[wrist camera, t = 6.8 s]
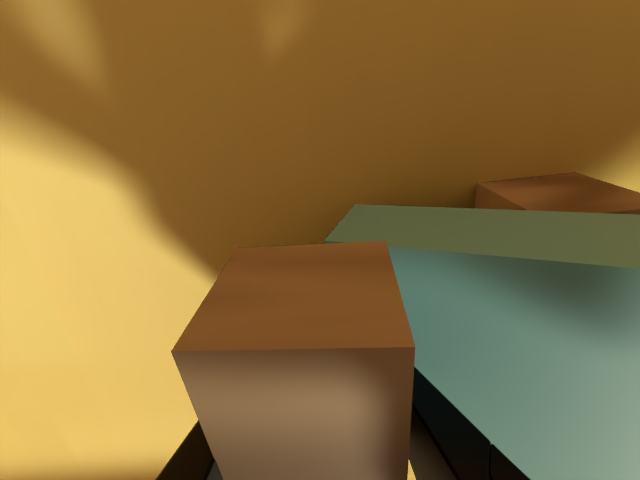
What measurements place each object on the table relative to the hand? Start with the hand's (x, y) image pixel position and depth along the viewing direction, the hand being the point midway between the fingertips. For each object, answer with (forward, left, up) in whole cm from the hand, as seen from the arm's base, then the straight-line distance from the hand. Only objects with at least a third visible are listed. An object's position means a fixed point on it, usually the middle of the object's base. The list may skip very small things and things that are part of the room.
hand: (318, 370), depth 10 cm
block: (0, 0, -1) cm, 1 cm away
